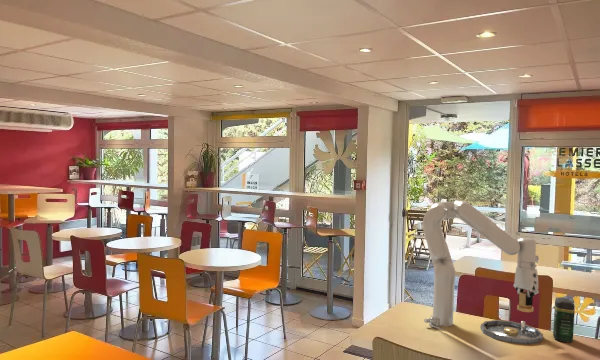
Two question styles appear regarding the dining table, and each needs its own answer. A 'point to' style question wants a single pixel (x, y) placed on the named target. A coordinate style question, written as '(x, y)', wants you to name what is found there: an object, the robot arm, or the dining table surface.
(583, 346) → the dining table surface
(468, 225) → the robot arm
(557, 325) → the coffee jar
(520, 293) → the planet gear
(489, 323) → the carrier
